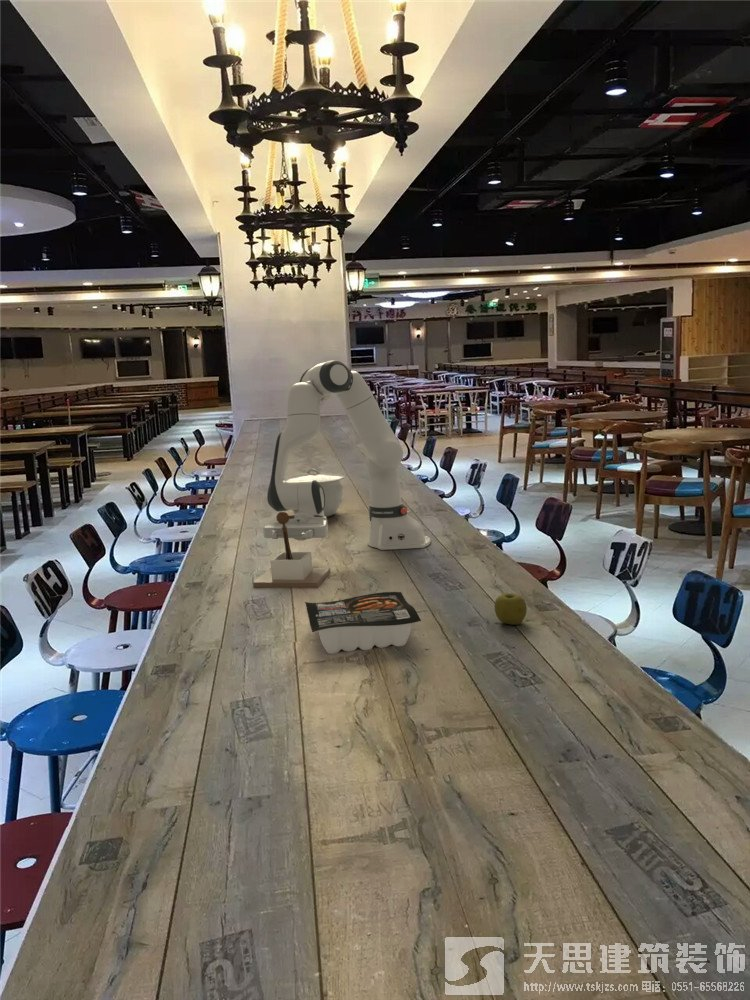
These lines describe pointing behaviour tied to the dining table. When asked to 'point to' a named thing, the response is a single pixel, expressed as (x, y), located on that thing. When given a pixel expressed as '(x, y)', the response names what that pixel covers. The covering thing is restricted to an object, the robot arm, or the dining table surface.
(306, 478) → the chamber pot
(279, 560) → the utensil holder
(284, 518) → the wooden tabletop sculpture
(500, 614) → the apple
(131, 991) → the dining table surface
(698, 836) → the dining table surface
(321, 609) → the food packaging
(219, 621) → the dining table surface
